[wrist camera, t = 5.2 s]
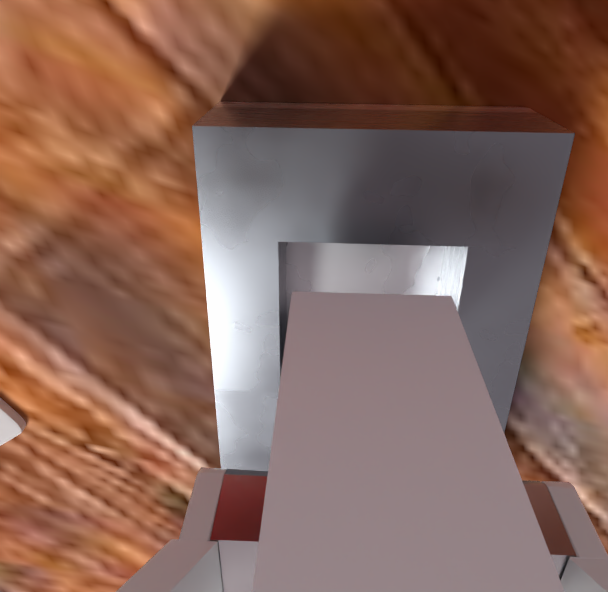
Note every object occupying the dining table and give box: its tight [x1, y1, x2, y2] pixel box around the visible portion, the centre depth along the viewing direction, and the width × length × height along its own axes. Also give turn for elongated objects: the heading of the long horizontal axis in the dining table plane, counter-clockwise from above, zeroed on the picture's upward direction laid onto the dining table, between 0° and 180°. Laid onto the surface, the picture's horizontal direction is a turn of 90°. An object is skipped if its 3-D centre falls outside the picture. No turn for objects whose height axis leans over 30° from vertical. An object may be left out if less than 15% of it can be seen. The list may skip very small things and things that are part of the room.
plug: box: [252, 291, 564, 592], centre depth 12 cm, size 5×4×8 cm
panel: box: [192, 102, 575, 471], centre depth 22 cm, size 24×10×4 cm, turn 179°
